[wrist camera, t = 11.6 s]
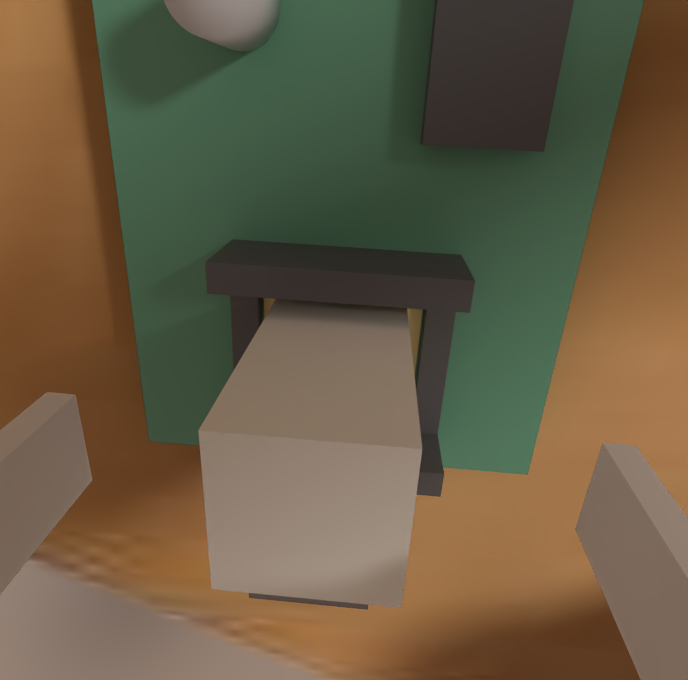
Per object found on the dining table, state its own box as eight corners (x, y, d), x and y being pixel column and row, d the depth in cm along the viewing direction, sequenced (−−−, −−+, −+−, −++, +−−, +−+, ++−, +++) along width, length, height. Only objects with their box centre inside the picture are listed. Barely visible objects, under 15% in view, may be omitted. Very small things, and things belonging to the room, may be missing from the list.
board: (97, -153, 15) (-11, -251, 11) (654, -135, 14) (764, -236, 10) (162, 422, 23) (114, 488, 19) (519, 452, 22) (548, 528, 18)
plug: (281, 289, 18) (198, 430, 10) (406, 298, 18) (422, 449, 10) (282, 414, 21) (213, 612, 12) (393, 422, 20) (398, 631, 12)
